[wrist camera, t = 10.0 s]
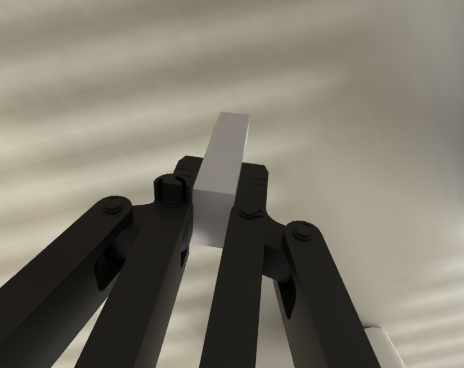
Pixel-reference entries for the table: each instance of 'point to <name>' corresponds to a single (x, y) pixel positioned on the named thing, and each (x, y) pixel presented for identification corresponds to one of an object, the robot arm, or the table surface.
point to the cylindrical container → (384, 348)
